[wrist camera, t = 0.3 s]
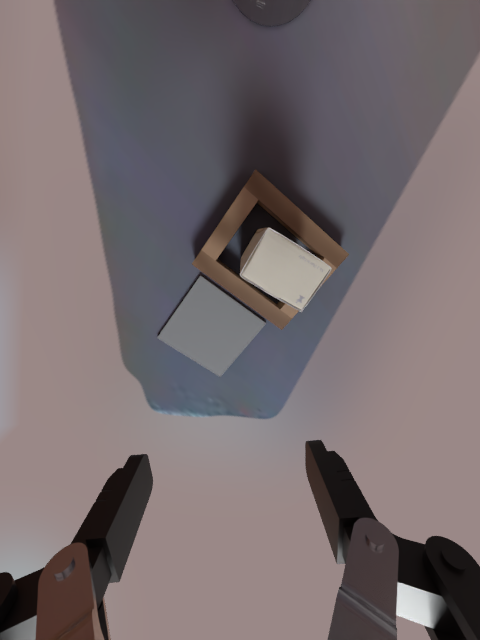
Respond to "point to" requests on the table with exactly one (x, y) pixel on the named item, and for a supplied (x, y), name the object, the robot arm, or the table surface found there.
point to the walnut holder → (286, 215)
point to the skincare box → (282, 268)
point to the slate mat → (211, 327)
